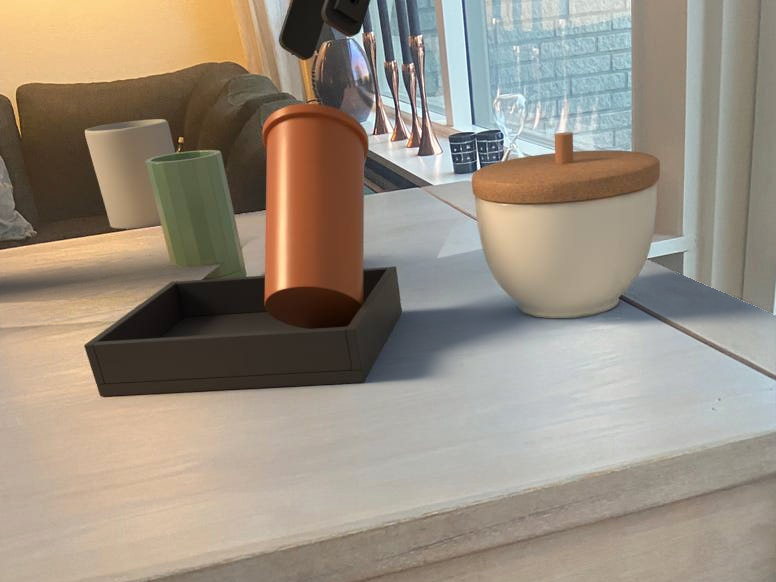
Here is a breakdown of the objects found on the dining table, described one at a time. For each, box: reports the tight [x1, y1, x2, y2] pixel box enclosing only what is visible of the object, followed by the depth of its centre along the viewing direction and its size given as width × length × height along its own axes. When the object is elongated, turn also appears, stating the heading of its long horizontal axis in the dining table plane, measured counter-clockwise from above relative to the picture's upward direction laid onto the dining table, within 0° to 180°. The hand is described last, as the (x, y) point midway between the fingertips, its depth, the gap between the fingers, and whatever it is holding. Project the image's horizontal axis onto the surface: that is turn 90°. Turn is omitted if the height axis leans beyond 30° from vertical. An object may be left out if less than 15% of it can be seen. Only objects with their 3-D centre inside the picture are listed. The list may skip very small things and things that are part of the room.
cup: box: [145, 149, 248, 280], centre depth 83 cm, size 6×6×10 cm
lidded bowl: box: [471, 131, 661, 319], centre depth 66 cm, size 13×13×11 cm
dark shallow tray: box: [83, 266, 403, 397], centre depth 65 cm, size 17×15×3 cm
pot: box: [261, 103, 370, 329], centre depth 63 cm, size 7×7×12 cm
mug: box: [84, 118, 176, 229], centre depth 103 cm, size 12×8×11 cm
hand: (314, 41), depth 58 cm, fingers open, 8 cm apart
